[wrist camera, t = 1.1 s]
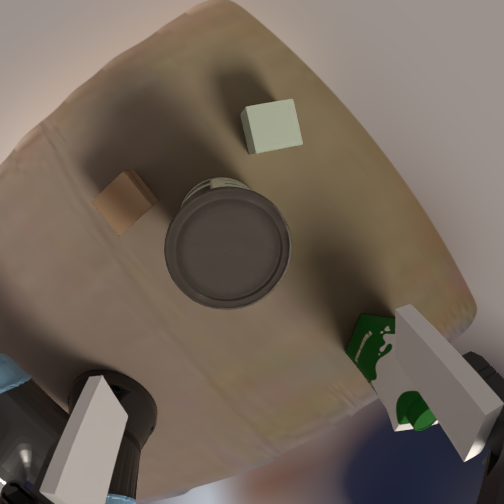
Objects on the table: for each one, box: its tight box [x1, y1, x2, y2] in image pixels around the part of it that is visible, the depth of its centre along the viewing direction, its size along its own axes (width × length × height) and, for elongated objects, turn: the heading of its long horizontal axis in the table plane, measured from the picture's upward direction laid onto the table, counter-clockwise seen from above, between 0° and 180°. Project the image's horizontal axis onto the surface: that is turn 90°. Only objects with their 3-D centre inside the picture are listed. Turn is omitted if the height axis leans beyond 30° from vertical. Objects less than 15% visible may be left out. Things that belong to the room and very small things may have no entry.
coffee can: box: [164, 177, 292, 310], centre depth 32 cm, size 10×10×14 cm
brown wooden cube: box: [92, 170, 159, 236], centre depth 34 cm, size 5×5×5 cm
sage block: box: [240, 99, 303, 154], centre depth 34 cm, size 5×5×6 cm
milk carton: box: [345, 314, 438, 431], centre depth 38 cm, size 9×9×20 cm
